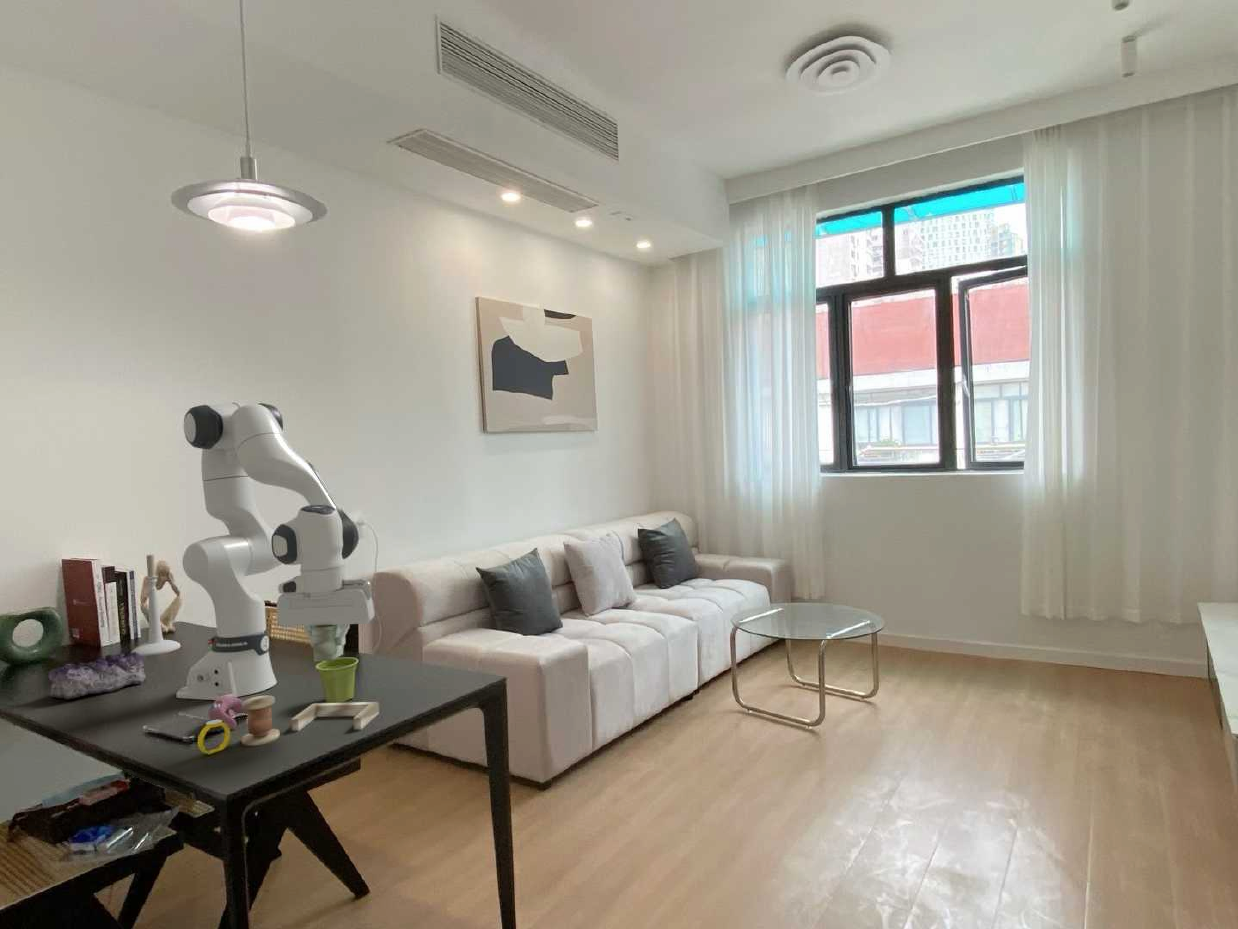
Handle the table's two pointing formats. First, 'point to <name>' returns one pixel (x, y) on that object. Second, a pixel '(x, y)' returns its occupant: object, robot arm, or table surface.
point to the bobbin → (259, 721)
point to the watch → (202, 734)
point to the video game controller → (226, 710)
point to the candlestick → (154, 620)
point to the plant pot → (338, 678)
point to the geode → (97, 676)
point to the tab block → (326, 642)
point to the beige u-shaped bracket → (337, 713)
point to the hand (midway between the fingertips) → (328, 645)
